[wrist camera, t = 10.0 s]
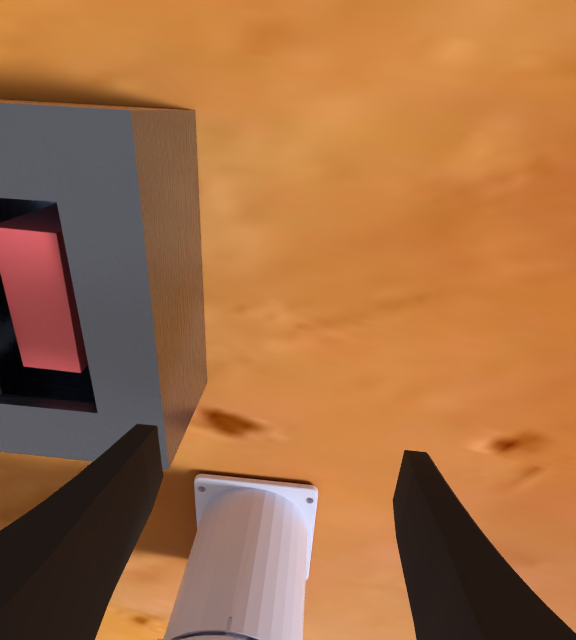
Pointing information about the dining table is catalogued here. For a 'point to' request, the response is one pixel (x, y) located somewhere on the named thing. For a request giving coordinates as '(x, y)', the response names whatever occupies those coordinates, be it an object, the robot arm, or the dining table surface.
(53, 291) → the pink flat block
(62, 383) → the grey box with slot
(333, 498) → the dining table surface
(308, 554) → the robot arm
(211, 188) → the dining table surface
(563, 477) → the dining table surface
